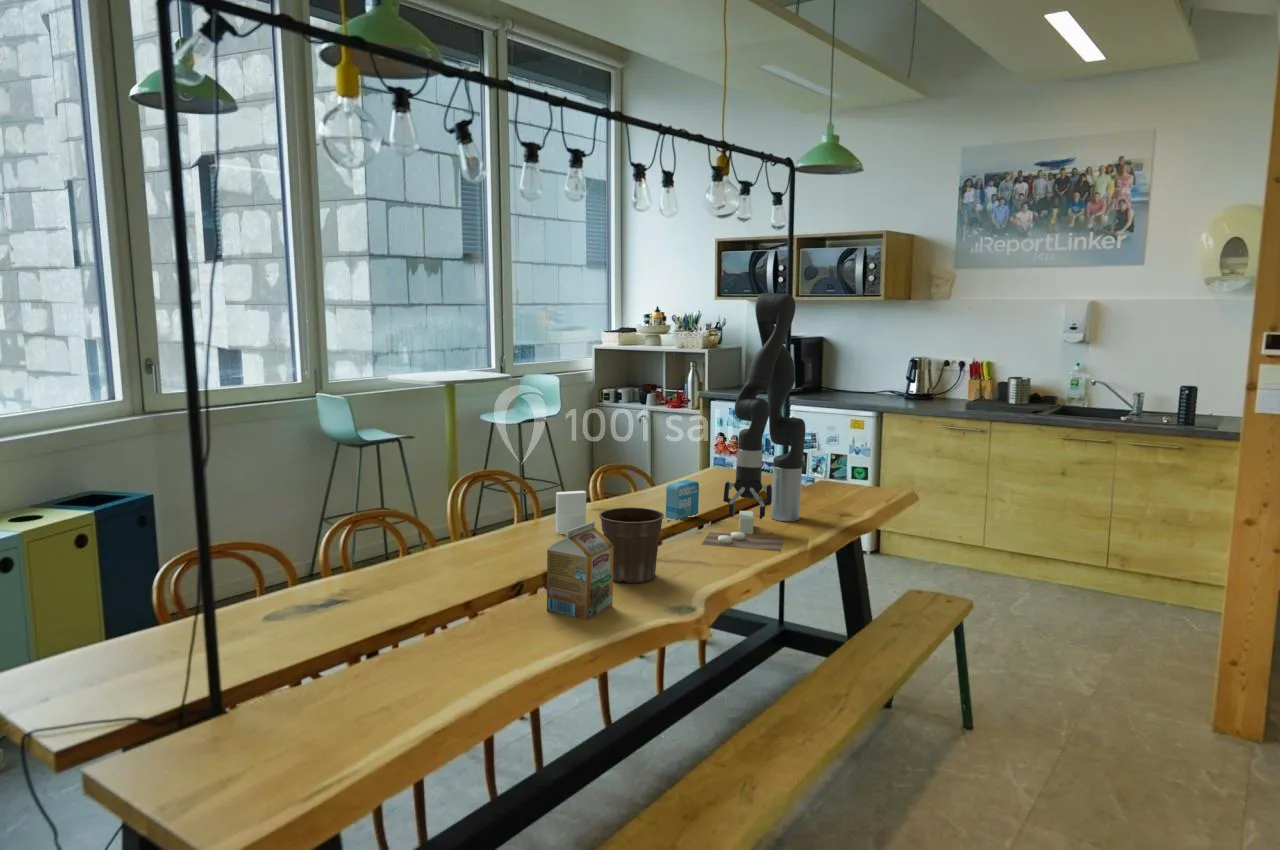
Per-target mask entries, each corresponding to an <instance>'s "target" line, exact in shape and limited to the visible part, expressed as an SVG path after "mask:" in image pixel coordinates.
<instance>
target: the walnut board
mask: <svg viewBox="0 0 1280 850" xmlns="http://www.w3.org/2000/svg"><path fill="white" fill-rule="evenodd" d="M720 535H728V536H731V533H723V532H711V531H709V532H708V533H707V535H706V536H705V538H704V540H703V541H702V543H701V545H703V546H713V547H714V546H715V547H716V546H717V547H724V548H734V549H735V548H737V549H738V548H739V549H747V550H748V549H749V550H750V549H751V550H758V551H759V550H760V551H771V552H781V550H782V547H783V544H784V541H785V538H783V537H772V536H771V537H770V536H759V535H750V534H745V539H744V540H733V539H732V543H731V544H721V543H719V542H718V536H720Z"/></svg>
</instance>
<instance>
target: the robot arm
mask: <svg viewBox="0 0 1280 850" xmlns="http://www.w3.org/2000/svg"><path fill="white" fill-rule="evenodd" d="M796 308H797V307H796V301H795V298H794V297H793V296H792V295H791V294H786V293H775V292H774V293H772V292H763V293H761V294H759V295H758V296H757V297H756V301H755V310H754V311H755V318H756V324H757V328H758V333H759V337H760V342H761V348H760V349H758V351H757V353H756V354H755V355H754V357H753V359H752V361H751V363H750V367H749V371H748V374H747V379H746V382H745V383H744V385H743V387H742V389H741V391H740V392H739V395H738V397H736V398H737V399H736V401H735V403H734V414H735V416H736V418H737V419H738V420H741V421H746V422H751V423H750V426H749V428H744V429H741V430H740V431H739V432H738V444H737V445H738V448H737V453H736V471H735V473H736V474H735V482H730V481H725V483H724V489H723V500H722V501H723V502H724V503H728V505H729V506H728V507H729V509H728V513H729V515H730V517H731V518H734V517H735V502H736V501H737V500H738V498H739V497H741V498H743V499H745V498H748V499H753V498H754V499H756V501H757V502H758V504H759V506H760V507H759V520H763V518H765V515H766V507H767V506H771V509H770V518H771V519H772V520H775V521H780V522H797V521H799V520H800V514H801V494H802V473H803V472H802V471H803V461H804V452H805V450H804V449H805V442H806V441H805V439H806V423H805V421H804V419H802V418H801V417H793V416H791V417H789V416H783V405H784V404H785V401H786V399H787V397H788V396H789V394H790V393H791V391H792V390H793V388H794V386H795V382H796V372H795V362H794V360H793V357H792V355H791V354H790V352H789V350H788V349H787V347H785V344H784V343H785V340H786V338H787V336H788V333H789V332H790V331H789V330H790V328H791V326H792V323H793V320H794V317H795V313H796ZM765 392H766V393H767V401H766V399H763V398H759V397H757V396H758V394H761V393H765ZM767 423H768V429H769V437H770V441H771V442H772V444H774V445H778V446H787V447H790V450H789V451H788V452H787V453H784V454H781V455H776V456H775V457H774V458H773V463H772V482H771V483H772V484H770V483H769V484H762V473H763V472H762V471H763V470H762V466H763V451H762V449H763V436H764V433H765V429H766V427H767ZM732 489H735V490H736V493H735V494H734V495H733V496H732V497H729V495H730V490H732ZM762 490H764V493H766V500H764V498H763V497H762V495H761V494H760V492H761V491H762ZM796 520H797V521H796Z"/></svg>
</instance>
